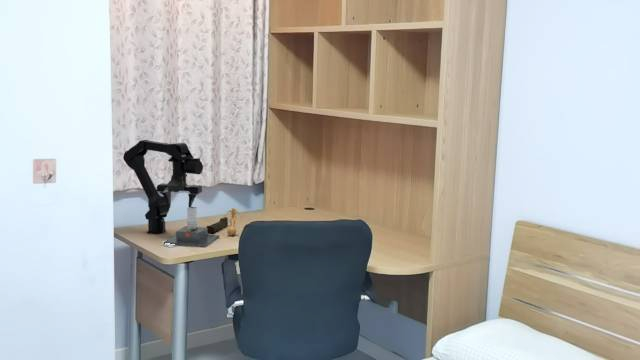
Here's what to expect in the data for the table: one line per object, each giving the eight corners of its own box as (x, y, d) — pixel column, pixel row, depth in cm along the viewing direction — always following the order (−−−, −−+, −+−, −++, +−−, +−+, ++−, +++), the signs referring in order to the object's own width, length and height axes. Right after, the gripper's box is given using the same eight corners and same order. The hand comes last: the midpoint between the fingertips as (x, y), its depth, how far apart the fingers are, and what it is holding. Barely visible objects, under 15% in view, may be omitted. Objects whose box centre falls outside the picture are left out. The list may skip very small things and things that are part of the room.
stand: (163, 244, 290) (163, 231, 290) (179, 235, 308) (179, 222, 307) (205, 247, 287) (205, 233, 286) (219, 237, 305) (219, 224, 304)
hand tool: (213, 234, 311) (213, 224, 310) (205, 234, 312) (205, 223, 311) (232, 226, 328) (233, 216, 328) (225, 225, 330) (225, 216, 329)
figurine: (221, 236, 308) (221, 208, 306) (225, 233, 314) (225, 206, 312) (239, 237, 306) (239, 209, 304) (243, 234, 312) (243, 207, 310)
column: (187, 229, 296) (186, 207, 294) (189, 228, 299) (189, 206, 297) (194, 230, 295) (194, 208, 294) (197, 228, 298) (196, 207, 297)
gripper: (151, 173, 297) (151, 210, 300) (193, 176, 294) (193, 213, 296) (161, 170, 308) (162, 205, 311) (202, 172, 305) (202, 208, 307)
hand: (179, 208), depth 306 cm, fingers open, 9 cm apart
